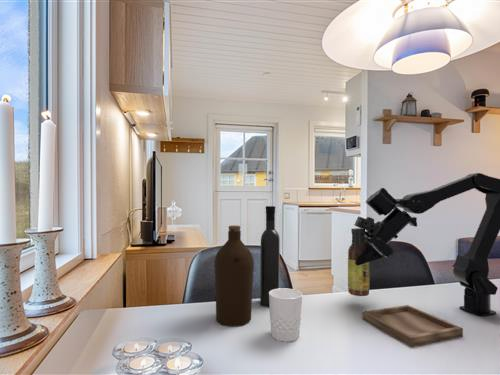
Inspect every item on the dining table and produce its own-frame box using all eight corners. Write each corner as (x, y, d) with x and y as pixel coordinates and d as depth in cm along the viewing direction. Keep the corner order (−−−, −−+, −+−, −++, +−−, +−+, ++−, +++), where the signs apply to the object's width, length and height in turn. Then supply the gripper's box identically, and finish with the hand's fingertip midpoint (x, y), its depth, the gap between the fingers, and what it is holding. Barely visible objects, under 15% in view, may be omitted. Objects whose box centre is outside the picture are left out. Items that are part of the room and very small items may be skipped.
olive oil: (261, 320, 81) (262, 226, 81) (229, 331, 74) (230, 229, 75) (237, 308, 89) (237, 223, 90) (206, 318, 82) (207, 225, 83)
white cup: (301, 345, 68) (301, 299, 68) (266, 341, 69) (266, 297, 69) (302, 329, 75) (302, 289, 76) (270, 326, 77) (271, 287, 77)
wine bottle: (259, 306, 91) (260, 206, 92) (261, 299, 97) (262, 205, 98) (278, 307, 90) (279, 206, 91) (279, 300, 96) (280, 206, 97)
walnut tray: (407, 312, 87) (407, 305, 87) (462, 336, 72) (462, 328, 72) (362, 319, 82) (362, 311, 82) (411, 347, 67) (411, 337, 67)
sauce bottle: (367, 298, 88) (366, 230, 89) (345, 295, 91) (345, 229, 92) (371, 292, 94) (370, 228, 94) (350, 289, 97) (350, 227, 97)
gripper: (363, 206, 102) (330, 238, 103) (380, 208, 84) (339, 248, 85) (388, 230, 101) (354, 262, 102) (410, 237, 82) (369, 277, 83)
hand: (353, 262), depth 93 cm, fingers closed on sauce bottle, 6 cm apart
